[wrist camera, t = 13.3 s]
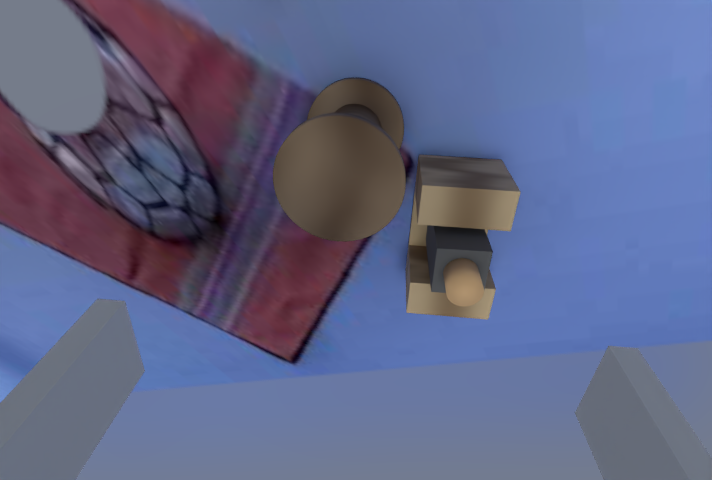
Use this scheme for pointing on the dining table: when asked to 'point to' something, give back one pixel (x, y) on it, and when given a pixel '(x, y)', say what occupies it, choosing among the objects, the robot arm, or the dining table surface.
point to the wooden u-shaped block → (455, 222)
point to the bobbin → (344, 163)
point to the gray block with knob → (458, 262)
